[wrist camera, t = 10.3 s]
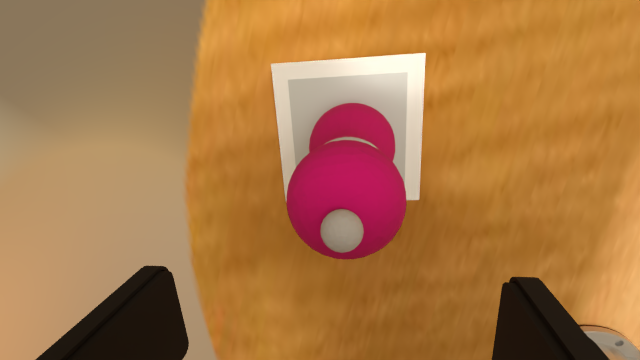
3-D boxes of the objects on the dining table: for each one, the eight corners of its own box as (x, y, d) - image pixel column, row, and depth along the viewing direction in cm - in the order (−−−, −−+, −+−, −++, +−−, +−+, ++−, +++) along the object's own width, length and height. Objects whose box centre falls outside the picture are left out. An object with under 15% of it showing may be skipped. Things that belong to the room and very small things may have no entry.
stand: (419, 54, 31) (425, 52, 28) (414, 189, 35) (419, 200, 32) (278, 64, 33) (270, 63, 30) (291, 191, 37) (285, 201, 34)
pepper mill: (301, 127, 31) (213, 217, 13) (362, 82, 29) (365, 108, 10) (344, 184, 33) (322, 340, 14) (405, 144, 31) (475, 266, 12)
